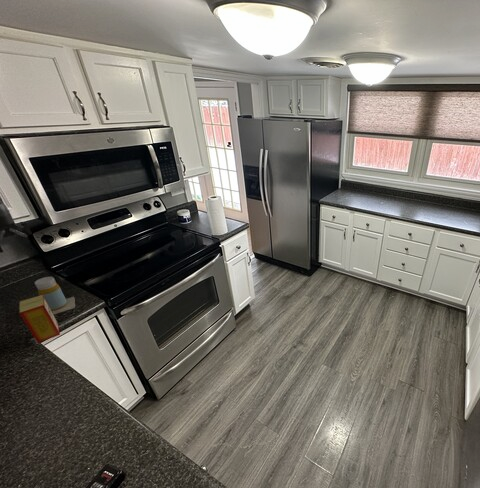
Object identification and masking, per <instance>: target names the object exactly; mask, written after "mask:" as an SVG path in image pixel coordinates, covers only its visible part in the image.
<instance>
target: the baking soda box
mask: <svg viewBox="0 0 480 488" xmlns="http://www.w3.org/2000/svg"><path fill="white" fill-rule="evenodd" d="M19 315H20V316H21V318H22V320H23V321H24V323H25V324H26V326H27V327H28V329H29V331H30V332H31V334H32V336H33V337H34V340H36V342H37V344H40V343H43V342H45V341H48V340H50V339H53V338H55V337H57V336H61V331H60V326H59V322H58V320H57V319H56V317H55V315H53V313H52V311H51V309H50V307H49V305H48V304H47V302H46V300H45V298H44V296H43V294H42V295H39V294H38V295H35V296H32V297H29V298H26V299H22V300H19Z"/></svg>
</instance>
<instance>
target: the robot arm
mask: <svg viewBox="0 0 480 488" xmlns="http://www.w3.org/2000/svg"><path fill="white" fill-rule="evenodd" d="M19 228H21V229H22V230H23V231H24V233H23V232H21V231H18V229H19ZM14 235H18V236H20V238H21V239H22V242H23V244H24V245H25V246H29V245H30V244H31V241H30V239H29V236H30V235H33V232H32V230H31V229H30V227H29V226H28V224H27V222H23V221H20V222H19V223H16V222H15V220H14V217H13V216H12V214H11V212H10V209H9V208H8V207H7V205H6V203H4V200H3V199H2V196H1V195H0V242H1V241H2V239H3V238H4V239H5V238H8V237H12V236H14ZM0 253H4V249H3V248H2V246H1V245H0Z"/></svg>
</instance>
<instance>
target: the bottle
mask: <svg viewBox="0 0 480 488" xmlns="http://www.w3.org/2000/svg"><path fill="white" fill-rule="evenodd" d="M34 285H35V287H36V289H37V293H38V296H39V295H42V294H43V296H44V298H45V300H46V302H47V304H48V305H49V307H50V309H51V311H55V310H59V309H61V308H63V307H65V306H66V304H67V301H66V299H67V298H66V297H65V295H64V293H63V291H62V288H61V287H60V285H59V284H58V283H57V282H56V280H55V278H54V277H53V276H45V277H42V278H39V279H37V280H35V281H34Z"/></svg>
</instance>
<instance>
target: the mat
mask: <svg viewBox="0 0 480 488" xmlns="http://www.w3.org/2000/svg"><path fill="white" fill-rule="evenodd" d="M65 299H66V301H67V304H66V306H65V307H63V308H61V309H59V310H55V311H52V313H53V315H54V316H55V315H57V314H60V313H64V312H67V311H70V310H74V309H76V299H75V296H71V297H68V298H65Z"/></svg>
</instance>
